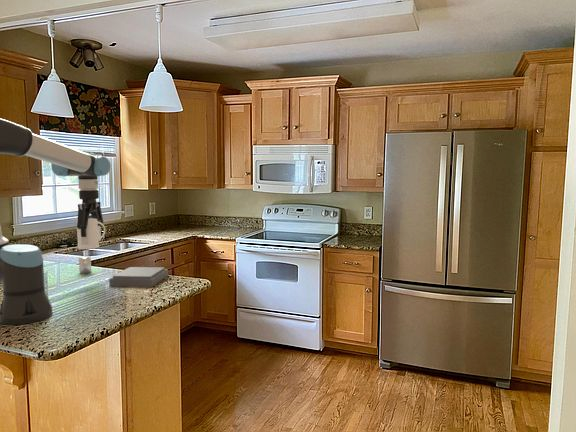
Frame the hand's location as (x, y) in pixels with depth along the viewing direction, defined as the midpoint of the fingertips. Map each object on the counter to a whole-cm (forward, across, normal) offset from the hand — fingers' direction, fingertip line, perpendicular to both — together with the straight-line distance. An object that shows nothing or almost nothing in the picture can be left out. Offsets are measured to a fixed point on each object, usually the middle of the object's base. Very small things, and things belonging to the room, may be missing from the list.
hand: (91, 242), depth 189 cm
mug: (+2, 0, 0) cm, 2 cm away
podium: (+17, +1, -20) cm, 26 cm away
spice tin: (+17, +14, +12) cm, 25 cm away
